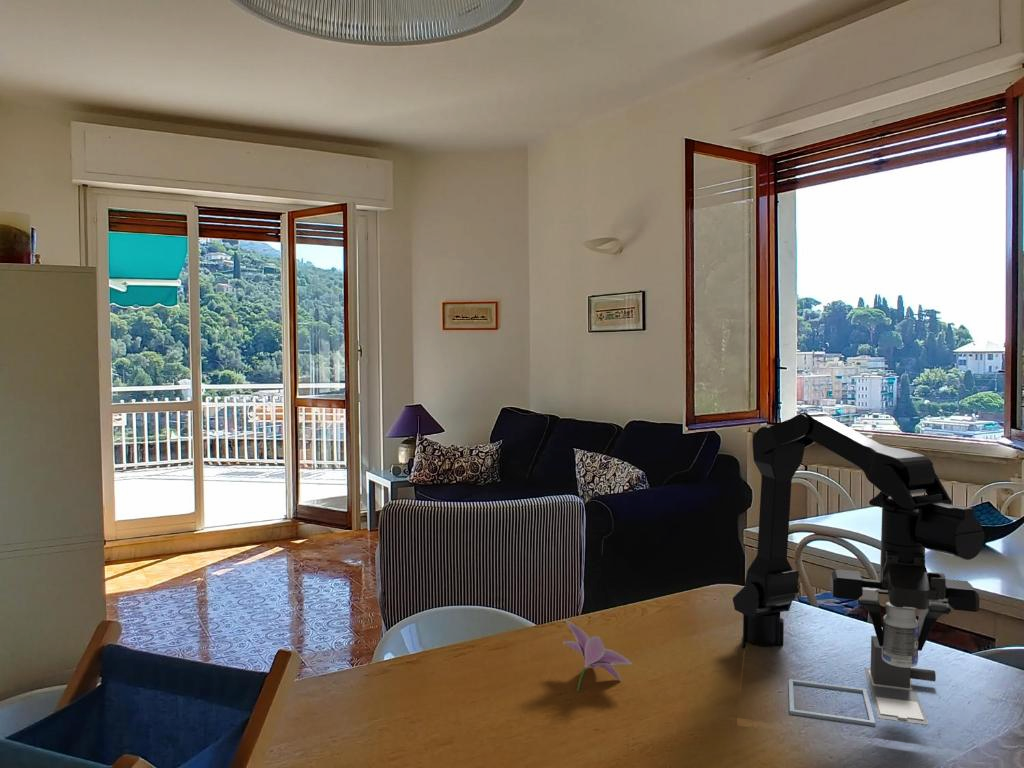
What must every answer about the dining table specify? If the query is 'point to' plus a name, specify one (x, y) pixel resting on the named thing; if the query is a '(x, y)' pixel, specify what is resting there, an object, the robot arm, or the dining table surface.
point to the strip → (896, 702)
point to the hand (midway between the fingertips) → (899, 647)
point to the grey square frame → (827, 716)
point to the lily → (594, 652)
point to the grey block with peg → (894, 670)
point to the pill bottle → (900, 636)
